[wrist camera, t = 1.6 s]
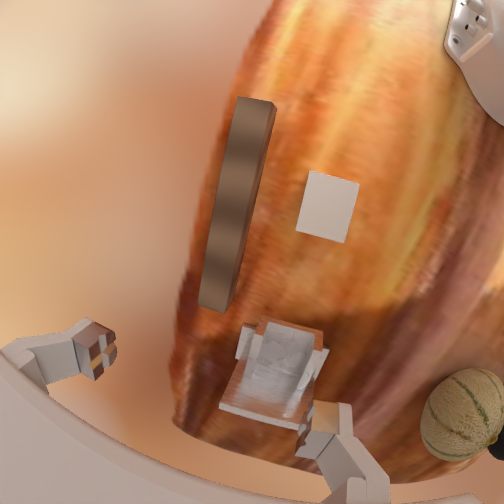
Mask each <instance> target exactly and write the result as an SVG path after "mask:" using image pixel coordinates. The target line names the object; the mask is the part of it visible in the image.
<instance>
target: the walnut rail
mask: <svg viewBox="0 0 504 504" xmlns="http://www.w3.org/2000/svg"><path fill="white" fill-rule="evenodd" d="M276 112H277V108H276V107H275V105H274V104H273V103H272V102H269V101H263V100H258V99H252V98H245V97H239V96H238V98H237V102H236V106H235V110H234V114H233V119H232V123H231V128H230V132H229V136H228V141H227V145H226V150H225V155H224V159H223V164H222V169H221V174H220V179H219V184H218V189H217V194H216V199H215V204H214V209H213V215H212V220H211V226H210V231H209V237H208V242H207V248H206V254H205V260H204V266H203V272H202V278H201V285H200V291H199V298H198V305H200V306H203V307H206V308H208V309H211V310H214V311H217V312H220V313H223V314H225V312H226V311H227V309H228V308H229V306H230V304H231V303H232V301H233V299H234V294H235V290H236V285H237V281H238V276H239V272H240V267H241V263H242V259H243V254H244V250H245V245H246V241H247V237H248V232H249V228H250V223H251V219H252V215H253V210H254V206H255V202H256V197H257V193H258V189H259V184H260V180H261V176H262V171H263V167H264V163H265V158H266V154H267V150H268V146H269V141H270V137H271V133H272V129H273V124H274V120H275V116H276Z"/></svg>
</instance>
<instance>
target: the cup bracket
mask: <svg viewBox="0 0 504 504" xmlns="http://www.w3.org/2000/svg"><path fill="white" fill-rule="evenodd" d="M329 350H330V346H326V345H323V331H320V330H316V329H312V328H308V327H304V326H301V325H297V324H293V323H290V322H286V321H282V320H279V319H275V318H272V317H268V316H265V315H262V316H261V318H260V321H259V323H258V326H257V327H255V326H252V325H249V324H245V323H244V324H243V326H242V330H241V335H240V339H239V343H238V348H237V352H236V357H235V359H238V360H239V361H238V363H237V365H236V368H235V370H234V372H233V374H232V377H231V379H230V381H229V383H228V386H227V388H226V390H225V392H224V395H223V397H222V399H221V401H220V405H219V409H222V410H225V411H228V412H231V413H234V414H237V415H241V416H244V417H247V418H251V419H254V420H258V421H262V422H265V423H269V424H273V425H277V426H281V427H285V428H290V429H294V430H298V429H299V424H300V421H301V418H302V416H303V414H304V412H305V411H307V410H308V404H309V402H310V400H311V399H312V398H313V391H314V380H316V378H317V376H318V374H319V372H320V370H321V368H322V365H323V363H324V361H325V359H326V357H327V355H328V353H329Z"/></svg>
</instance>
